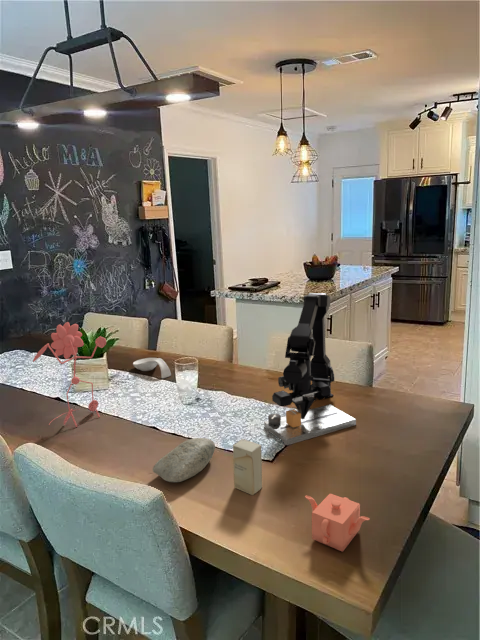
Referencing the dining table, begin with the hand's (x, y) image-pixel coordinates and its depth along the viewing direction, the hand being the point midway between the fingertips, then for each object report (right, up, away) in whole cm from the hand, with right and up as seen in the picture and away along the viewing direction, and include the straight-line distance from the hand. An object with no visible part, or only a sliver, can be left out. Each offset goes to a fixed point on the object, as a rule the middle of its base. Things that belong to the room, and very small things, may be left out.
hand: (302, 418), depth 153 cm
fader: (-3, -2, -1) cm, 3 cm away
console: (+3, -3, +2) cm, 4 cm away
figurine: (-78, -4, +18) cm, 80 cm away
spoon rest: (-59, +8, +63) cm, 87 cm away
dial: (-9, -1, +1) cm, 9 cm away
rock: (-34, -10, -20) cm, 41 cm away
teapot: (+1, -16, -50) cm, 52 cm away
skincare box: (-18, -12, -30) cm, 37 cm away
